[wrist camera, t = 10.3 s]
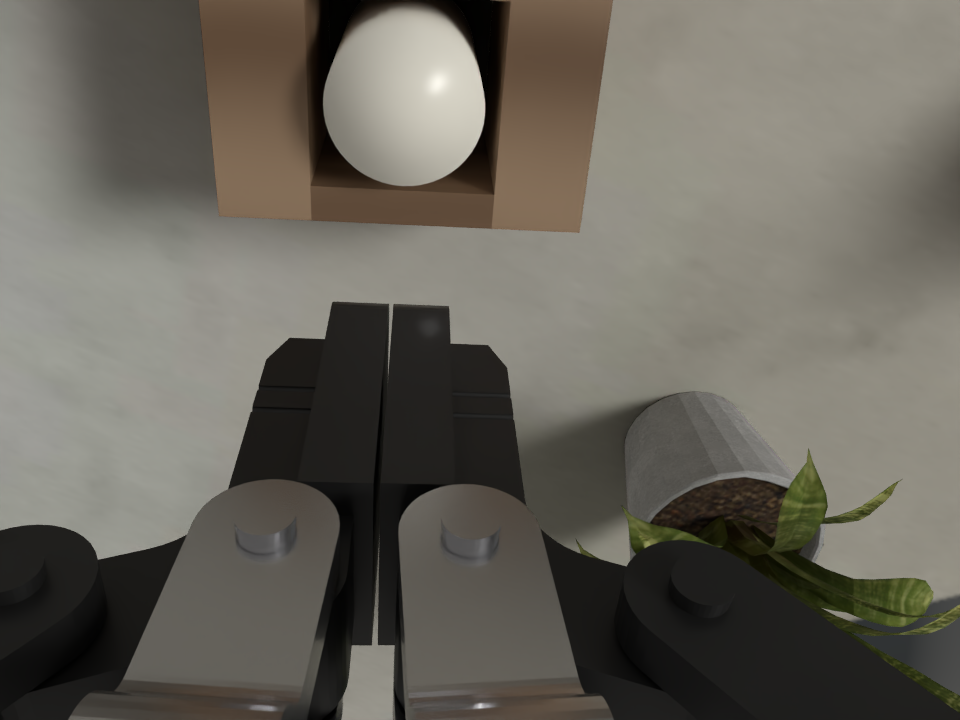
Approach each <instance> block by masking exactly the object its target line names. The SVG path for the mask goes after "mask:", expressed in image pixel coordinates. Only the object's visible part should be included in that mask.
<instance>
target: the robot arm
mask: <svg viewBox="0 0 960 720" xmlns="http://www.w3.org/2000/svg"><path fill="white" fill-rule="evenodd" d="M388 346H389V304H377V303H352V302H333V303H332V306H331V311H330V316H329V321H328V326H327V331H326V337H325V339H305V338H289V339H288V340H287V341H286V342H285V343H284V344H283V345H281V346H280V347H279V348H278V349H277V350H276V351H275V352H274V353H273V354H272V355H271V356H270V357H269V358H267V359H266V363H265V366H264V369H263V373H262V376H261V380H260V383H259V390H257V393H256V396H255V400H254V403H253V410H252V412H251V413H250V417H249V420H248V424H247V427H246V430H245V434H244V437H243V441H242V444H241V447H240V451H239V454H238V458H237V461H236V464H235V468H234V471H233V475H232V478H231V481H230V485H229V488H228V490H226V491H224V492H222V493H220V494H219V495H217V496H215V497H214V498H212V499H211V500H210V501H209V502H208V503H206V504H205V505H204V506H203V507H202V509H201V510H200V511H199V512H198V513H197V515H196V517H195V519H194V520H193V522H192V524H191V527H190V529H189V531H188V534H187V535H186V536H184V537H182V538H179V539H177V540H175V541H172V542H170V543H167V544H164V545H161V546H158V547H154V548H150V549H146V550H142V551H137V552H132V553H128V554H123V555H119V556H114V557H109V558H105V559H100V560H98V559H97V555H96V552H95V550H94V548H93V547H92V545H91V543H89V542H88V541H87V540H86V539H85V538H84V537H83V536H81V535H79V534H78V533H76V532H74V531H71V530H69V529H66V528H62V527H57V526H52V525H26V526H19V527H13V528H8V529H5V530H1V531H0V720H341V718H342V711H343V695H344V692H345V690H346V687H347V683H348V678H349V668H350V657H351V646H352V645H372V634H373V620H374V606H375V591H376V577H377V563H378V548H379V607H378V645H395V651H394V687H393V720H960V713H959V712H957V711H956V710H954V709H953V708H952V707H950V706H949V705H947V704H946V703H945V702H943V701H942V700H940V699H939V698H937V697H936V696H935V695H933V694H932V693H930V692H929V691H927V690H926V689H925V688H923V687H922V686H920V685H919V684H918V683H916V682H915V681H913V680H912V679H910V678H909V677H908V676H906V675H905V674H903V673H902V672H900V671H899V670H898V669H896V668H895V667H893V666H892V665H891V664H889V663H888V662H886V661H885V660H883V659H882V658H881V657H879V656H878V655H876V654H875V653H873V652H872V651H871V650H869V649H868V648H866V647H865V646H864V645H862V644H861V643H859V642H858V641H856V640H855V639H854V638H852V637H851V636H849V635H848V634H846V633H845V632H844V631H842V630H841V629H839V628H838V627H837V626H835V625H834V624H832V623H831V622H829V621H828V620H827V619H825V618H824V617H822V616H821V615H819V614H818V613H817V612H815V611H814V610H812V609H811V608H810V607H808V606H807V605H805V604H804V603H802V602H801V601H800V600H798V599H797V598H795V597H794V596H792V595H791V594H790V593H788V592H787V591H785V590H784V589H783V588H781V587H780V586H778V585H777V584H775V583H774V582H773V581H771V580H770V579H768V578H767V577H765V576H764V575H763V574H761V573H760V572H758V571H757V570H756V569H754V568H753V567H751V566H750V565H748V564H747V563H746V562H744V561H743V560H741V559H739V558H738V557H736V556H735V555H733V554H731V553H729V552H727V551H725V550H723V549H721V548H718V547H715V546H712V545H709V544H705V543H701V542H696V541H688V540H670V541H664V542H659V543H656V544H653V545H650V546H648V547H646V548H644V549H642V550H641V551H639V552H638V553H637V554H636V555H635V556H634V557H633V558H632V559H631V561H630V562H629V563H628V565H627V567H626V566H622V565H618V564H615V563H611V562H607V561H604V560H600V559H596V558H593V557H589V556H586V555H583V554H580V553H577V552H575V551H573V550H571V549H568V548H566V547H564V546H563V545H561V544H559V543H558V542H556V541H554V540H553V539H552V538H551V537H549V536H548V535H547V534H545V533H544V532H543V531H542V530H541V529H540V526H539V524H538V521H537V519H536V518H535V516H534V515H533V513H532V512H531V511H530V510H529V509H528V508H527V506H526V502H525V498H524V490H523V483H522V475H521V468H520V461H519V453H518V446H517V438H516V431H515V423H514V420H513V409H512V401H511V398H510V386H509V379H508V372H507V367H506V366H505V365H504V364H503V363H502V361H501V360H500V359H499V358H498V357H497V355H496V354H495V353H494V352H493V351H492V349H491V348H490V347H489V346H488V345H469V344H450V318H449V306H430V305H406V304H394V306H393V320H392V333H391V347H390V360H389V374H388ZM379 534H380V544H379Z"/></svg>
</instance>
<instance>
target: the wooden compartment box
mask: <svg viewBox="0 0 960 720" xmlns="http://www.w3.org/2000/svg"><path fill="white" fill-rule="evenodd" d="M612 3H613V0H492V11H491V24H490V38H489V51H488V64H487V78H486V91H485V118H484V125H483V128H482V132H481V135H480V137H479V140H478V142H477V144H476V146H475V148H474V149H473V151H472V153H471V154H470V155H469V156H468V158H467V159H466V160H465V161H464V162H463V163H462V164H461V165H460V166H459V167H458V168H457V169H455V170H454V171H453V172H451V173H450V174H448V175H446V176H445V177H443V178H441V179H438V180H436V181H434V182H430V183H427V184H423V185H416V186H397V185H391V184H387V183H382V182H380V181H377V180H374V179H372V178H370V177H368V176H366V175H364V174H363V173H361V172H360V171H358V170H357V169H356V168H354V167H353V166H352V165H351V164H350V163H349V162H348V161H347V160H346V159H345V158H344V157H343V156H342V155H341V153H340V152H339V150H338V149H337V148H336V146H335V144H334V143H333V141H332V139H331V137H330V134H329V132H328V129H327V126H326V122H325V117H324V109H323V95H324V89H325V83H326V80H327V77H328V74H329V71H330V36H329V0H199V10H200V20H201V31H202V41H203V52H204V62H205V73H206V84H207V94H208V105H209V115H210V126H211V136H212V147H213V157H214V168H215V178H216V189H217V199H218V210H219V216H227V217H249V218H270V219H292V220H314V221H336V222H358V223H380V224H401V225H423V226H445V227H467V228H489V229H511V230H532V231H554V232H576V233H579V232H580V225H581V218H582V211H583V204H584V197H585V190H586V184H587V177H588V170H589V163H590V156H591V149H592V142H593V135H594V128H595V121H596V114H597V107H598V100H599V93H600V86H601V79H602V72H603V65H604V58H605V51H606V44H607V37H608V30H609V23H610V17H611V10H612Z"/></svg>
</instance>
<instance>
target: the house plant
mask: <svg viewBox="0 0 960 720" xmlns="http://www.w3.org/2000/svg"><path fill="white" fill-rule="evenodd" d="M624 449H625V470H626V489H627V507H628V511H627V510H626V509H625V508H624V507H623V506H622V509H623V511H624V513H625V515H626V517H627V519H628V526H629V544H630V561H631V559H632V558H633V557H634V556H635V555H636V554H637V553H638V552H639V551H641V550H642V549H644V548H646V547H648V546H650V545H653V544H656V543H659V542H664V541H670V540H688V541H696V542H701V543H705V544H709V545H712V546H715V547H718V548H721V549H723V550H725V551H727V552H729V553H731V554H733V555H735V556H736V557H738V558H739V559H741V560H743V561H744V562H746V563H747V564H748V565H750V566H751V567H753V568H754V569H756V570H757V571H758V572H760V573H761V574H763V575H764V576H765V577H767V578H768V579H770V580H771V581H773V582H774V583H775V584H777V585H778V586H780V587H781V588H783V589H784V590H785V591H787V592H788V593H790V594H791V595H792V596H794V597H795V598H797V599H798V600H800V601H801V602H802V603H804V604H805V605H807V606H808V607H810V608H811V609H812V610H814V611H815V612H817V613H818V614H819V615H821V616H822V617H824V618H825V619H827V620H828V621H829V622H831V623H832V624H834V625H835V626H837V627H838V628H839V629H841V630H842V631H844V632H845V633H846V634H848V635H849V636H851V637H852V638H854V639H855V640H856V641H858V642H859V643H861V644H862V645H864V646H865V647H866V648H868V649H869V650H871V651H872V652H873V653H875V654H876V655H878V656H879V657H881V658H882V659H883V660H885V661H886V662H888V663H889V664H891V665H892V666H893V667H895V668H896V669H898V670H899V671H900V672H902V673H903V674H905V675H906V676H908V677H909V678H910V679H912V680H913V681H915V682H916V683H918V684H919V685H920V686H922V687H923V688H925V689H926V690H927V691H929V692H930V693H932V694H933V695H935V696H936V697H937V698H939V699H940V700H942V701H943V702H945V703H946V704H947V705H949V706H950V707H952V708H953V709H954V710H956V711H957V712H959V713H960V696H959V695H957V694H955V693H954V692H952V691H950V690H948V689H946V688H945V687H943V686H941V685H940V684H938V683H936V682H934V681H933V680H931V679H930V678H928V677H927V676H925V675H923V674H922V673H920V672H918V671H917V670H915V669H913V668H912V667H909V666H908V665H906V664H904V663H902V662H900V661H898V660H897V659H895V658H893V657H891V656H889V655H887V654H885V653H883V652H881V651H880V650H878V649H876V648H875V647H873V646H872V645H870V644H868V643H867V642H865V641H863V640H862V639H860V638H859V637H857V636H855V635H854V634H852V633H858V634H864V635H870V636H880V635H911V634H912V635H913V634H929V633H931V632H934V631H936V630H939V629H942V628H945V627H946V626H948V625H949V624H950V623H952V622H953V621H954V620H956V619H957V618H959V617H960V605H958V606H957V607H955V608H953V609H951V610H949V611H947V612H944V613H940V614H936V615H932V616H921V615H922V614H924V613H925V612H926V610H927V608H928V606H929V604H930V603H931V601H932V599H933V591H932V590H931V588H930V587H929V585H928V584H927V582H926V581H924V580H920V579H916V578H896V579H876V580H869V579H852V578H849V577H847V576H844V575H841V574H838V573H835V572H832V571H830V570H827V569H825V568H823V567H821V566H819V565H817V564H816V563H815V561H816V559H817V557H818V555H819V553H820V551H821V549H822V547H823V540H824V533H825V524H831V523H846V522H853V521H859V520H861V519H863V518H865V517H866V516H868V515H870V514H871V513H872V512H873V511H874V510H875V509H876V508H878V507H879V506H880V505H881V504H883V503H884V502H885V501H886V500H887V499H888V498H889V497H890V496H891V494H892V492H893V490H894V488H895V486H896V485H897V483H898V482H899V481H898V482H896V483H894V484H893V485H891V486H890V487H888V488H887V489H886V490H884V491H883V492H882V493H880V494H879V495H877V496H876V497H875V498H873V499H872V500H870V501H869V502H867V503H866V504H864V505H863V506H861V507H859V508H857V509H855V510H852V511H850V512H847V513H844V514H841V515H838V516H834V517H828V518H824V517H825V514H826V510H827V507H828V505H827V497H826V493H825V490H824V487H823V485H822V482H821V480H820V478H819V475H818V473H817V471H816V468H815V466H814V464H813V461H812V458H811V455H810V451H809V448H808V456H807V463H806V464H805V465H804V467H803V468H802V469H801V471H800V472H799V473H798V475H797V476H795V474H794V473H793V472H792V471H791V470H790V469H789V468H788V466H787V465H786V464H785V463H784V462H783V461H782V460H781V458H780V457H779V456H778V455H777V454H776V453H775V451H774V450H773V449H772V448H771V447H770V446H769V445H768V443H767V442H766V441H765V440H764V439H763V438H762V437H761V435H760V434H759V433H758V432H757V431H756V430H755V428H754V427H753V426H752V425H751V424H750V423H749V422H748V420H747V419H746V418H745V417H744V416H743V415H742V414H741V412H740V411H739V410H738V409H737V408H736V407H735V406H734V405H733V404H731V403H730V402H729V401H727V400H726V399H724V398H722V397H719V396H716V395H713V394H711V393H702V392H688V393H680V394H675V395H672V396H670V397H667V398H664V399H661V400H659V401H658V402H656V403H654V404H653V405H651V406H649V407H648V408H646V409H645V410H644V411H643V412H642V413H641V414H640V415H639V416H638V417H637V418H636V419H635V421H634V422H633V424H632V425H631V427H630V428H629V430H628V433H627V436H626V439H625V443H624ZM900 481H901V480H900ZM576 541H577V540H576ZM577 544H578V547H579V549H580V552H581V554H583V555H586V556H589V557H593V558H596V559H598V558H597V557H595V556H593V555H592V554H590V553H588V552H587V551H585V550H583V548H582V547H581V545H580V544H579V543H578V541H577ZM600 560H601V559H600ZM822 608H824V609H829V610H834V611H840V612H847V613H849V614H851V615H854V616H856V617H859V618H862V619H865V620H868V621H871V622H874V623H878V624H882V625H887V626H897V627H903V626H906V625H908V624H910V623H913V622H915V621H916V620H917V619H918V618H924V617H940V618H939V619H938V620H935V621H933V622H931V623H929V624H927V625H925V626H923V627H921V628H918V629H915V630H912V631H908V632H905V633H886V632H882V631H877V630H873V629H870V628H867V627H864V626H861V625H858V624H855V623H853V622H850V621H848V620H845V619H843V618H840V617H837V616H835V615H833V614H831V613H829V612H828V611H826V610H824V609H822ZM851 632H852V633H851Z"/></svg>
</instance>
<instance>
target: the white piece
mask: <svg viewBox="0 0 960 720" xmlns="http://www.w3.org/2000/svg"><path fill="white" fill-rule="evenodd" d="M323 109H324V117H325V122H326V126H327V129H328V132H329V134H330V137H331V139H332V141H333V143H334V144H335V146H336V148H337V149H338V150H339V152H340V153H341V155H342V156H343V157H344V158H345V159H346V160H347V161H348V162H349V163H350V164H351V165H352V166H353V167H354V168H356V169H357V170H358V171H360V172H361V173H363V174H364V175H366V176H368V177H370V178H372V179H374V180H377V181H380V182H382V183H387V184H391V185H397V186H416V185H423V184H427V183H430V182H434V181H436V180H438V179H441V178H443V177H445V176H446V175H448V174H450V173H451V172H453V171H454V170H455V169H457V168H458V167H459V166H460V165H461V164H462V163H463V162H464V161H465V160H466V159H467V158H468V156H469V155H470V154H471V153H472V151H473V149H474V148H475V146H476V144H477V142H478V140H479V137H480V135H481V132H482V128H483V125H484V118H485V98H484V91H483V86H482V81H481V76H480V71H479V65H478V60H477V55H476V50H475V45H474V40H473V35H472V32H471V28H470V26H469V23H468V21H467V19H466V17H465V15H464V14H463V12H462V11H461V9H460V8H459V7H458V5H457V4H456V3H455V2H454V1H453V0H362V1H361V2H360V3H359V4H358V5H357V6H356V8H355V10H354V11H353V13H352V14H351V16H350V18H349V21H348V23H347V26H346V28H345V31H344V34H343V36H342V39H341V42H340V44H339V47H338V50H337V52H336V55H335V58H334V60H333V63H332V66H331V69H330V71H329V74H328V77H327V80H326V83H325V89H324V95H323Z"/></svg>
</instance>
